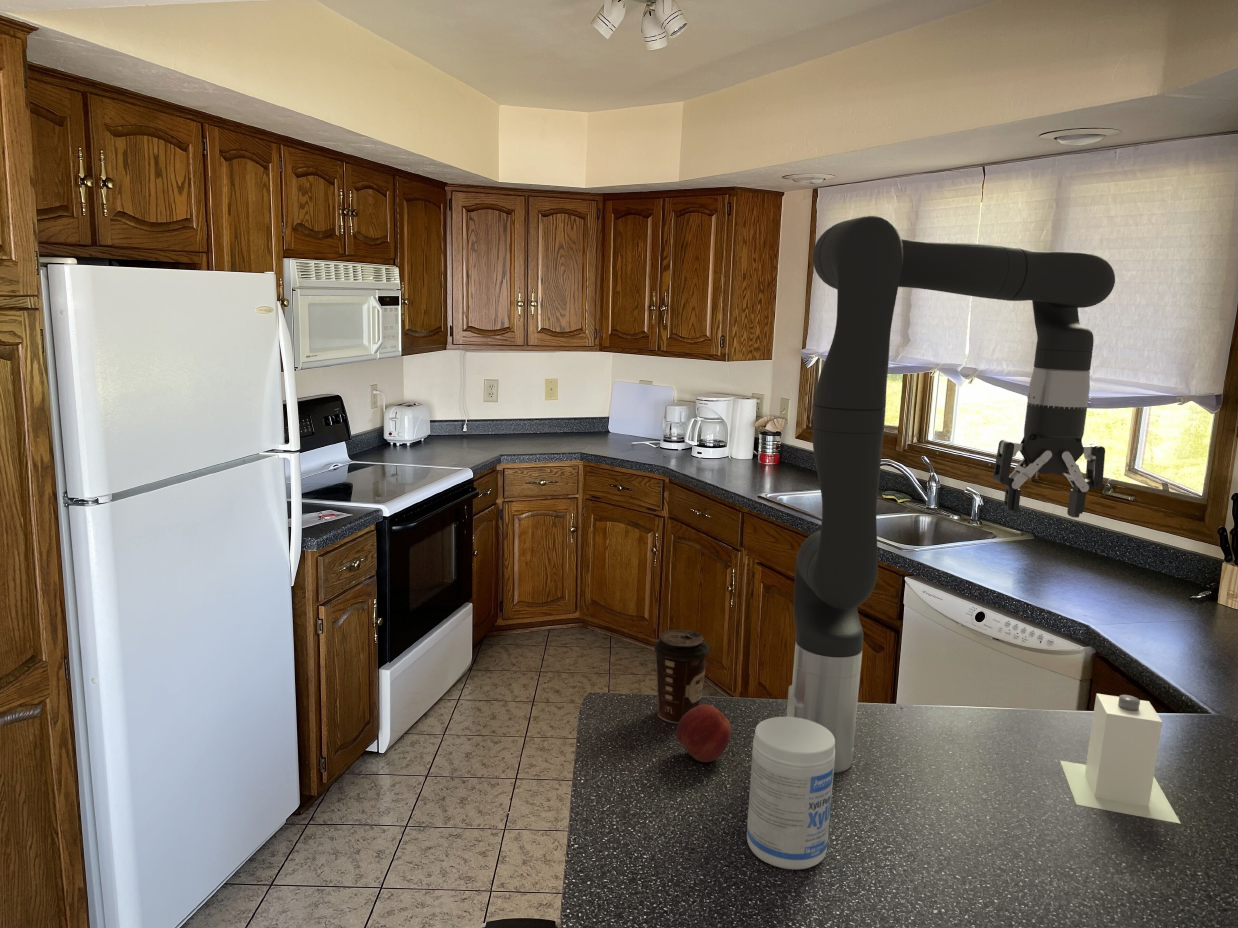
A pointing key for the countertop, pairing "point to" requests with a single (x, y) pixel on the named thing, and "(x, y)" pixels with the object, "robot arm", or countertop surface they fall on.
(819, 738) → the supplement tub
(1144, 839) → the countertop surface
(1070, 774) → the mat
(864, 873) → the countertop surface
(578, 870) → the countertop surface
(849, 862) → the countertop surface
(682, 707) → the coffee cup
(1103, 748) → the cover
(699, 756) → the apple
